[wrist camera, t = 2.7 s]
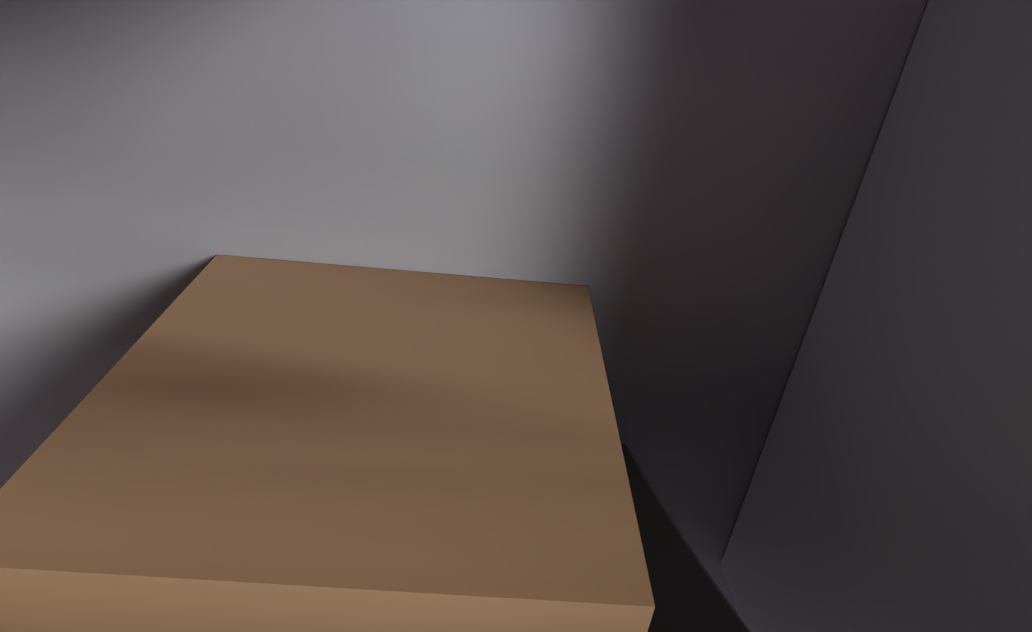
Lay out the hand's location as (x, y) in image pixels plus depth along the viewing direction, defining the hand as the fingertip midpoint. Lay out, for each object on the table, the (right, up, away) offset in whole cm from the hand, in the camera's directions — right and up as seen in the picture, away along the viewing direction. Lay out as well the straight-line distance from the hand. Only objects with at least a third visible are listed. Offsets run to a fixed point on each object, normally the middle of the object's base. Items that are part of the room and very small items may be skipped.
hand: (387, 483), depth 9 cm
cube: (0, +1, +1) cm, 1 cm away
